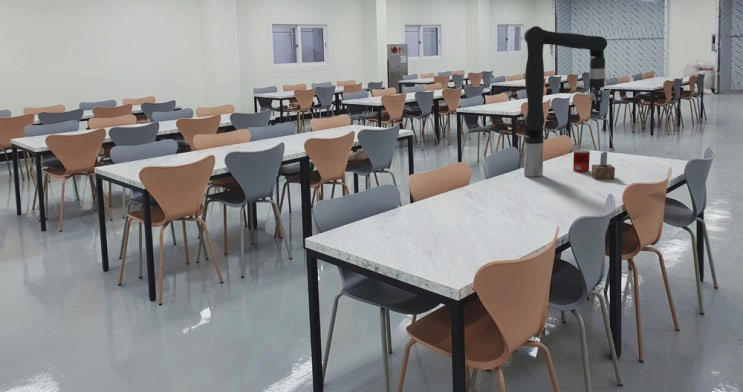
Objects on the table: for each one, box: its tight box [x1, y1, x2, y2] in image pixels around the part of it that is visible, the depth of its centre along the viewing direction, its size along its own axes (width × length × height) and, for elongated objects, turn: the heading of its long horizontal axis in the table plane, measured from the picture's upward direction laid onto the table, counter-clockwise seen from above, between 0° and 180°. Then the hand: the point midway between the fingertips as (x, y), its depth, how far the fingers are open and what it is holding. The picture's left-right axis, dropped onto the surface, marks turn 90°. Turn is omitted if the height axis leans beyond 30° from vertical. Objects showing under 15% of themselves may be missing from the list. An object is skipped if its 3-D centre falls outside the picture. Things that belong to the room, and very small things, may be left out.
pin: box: [599, 151, 608, 167], centre depth 324 cm, size 3×3×12 cm
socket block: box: [591, 164, 616, 181], centre depth 325 cm, size 9×9×6 cm
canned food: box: [572, 149, 591, 173], centre depth 343 cm, size 8×8×11 cm
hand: (595, 110), depth 327 cm, fingers open, 8 cm apart
